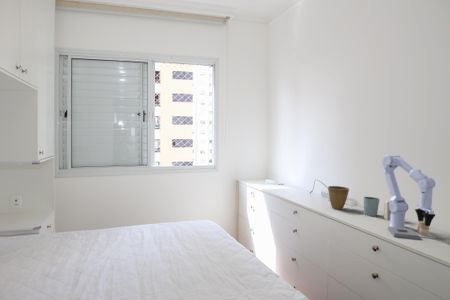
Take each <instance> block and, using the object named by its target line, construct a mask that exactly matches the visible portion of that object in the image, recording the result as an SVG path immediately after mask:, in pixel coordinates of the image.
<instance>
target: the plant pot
mask: <svg viewBox="0 0 450 300" xmlns="http://www.w3.org/2000/svg"><path fill="white" fill-rule="evenodd" d="M327 190H328V191H327V192H328V197H329V202H330V205H331V208H332V210H337V209H338V210H341V209H342V210H343V209H344V206H345V204H346V202H347V198H348V196H349V191H350V188H349V187H346V186H339V185H338V186H337V185H330V186H328V187H327ZM338 210H337V211H338Z"/></svg>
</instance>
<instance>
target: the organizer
mask: <svg viewBox="0 0 450 300" xmlns="http://www.w3.org/2000/svg"><path fill="white" fill-rule="evenodd" d="M387 231H388V232H389V233H390V234H391V235H392V236H393V238H401V239H410V240H411V239H412V240H420V237H419V235H418V234H416V233H415V232H416V231H414V230H413V229H412V228H408V227H405V228H399V227H390V226H387Z"/></svg>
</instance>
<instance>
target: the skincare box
mask: <svg viewBox="0 0 450 300" xmlns="http://www.w3.org/2000/svg"><path fill="white" fill-rule="evenodd" d="M391 213H392V212H391V211H390V209H389V200H384V205H383V219H384V220H386V221H390V215H391Z"/></svg>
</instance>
